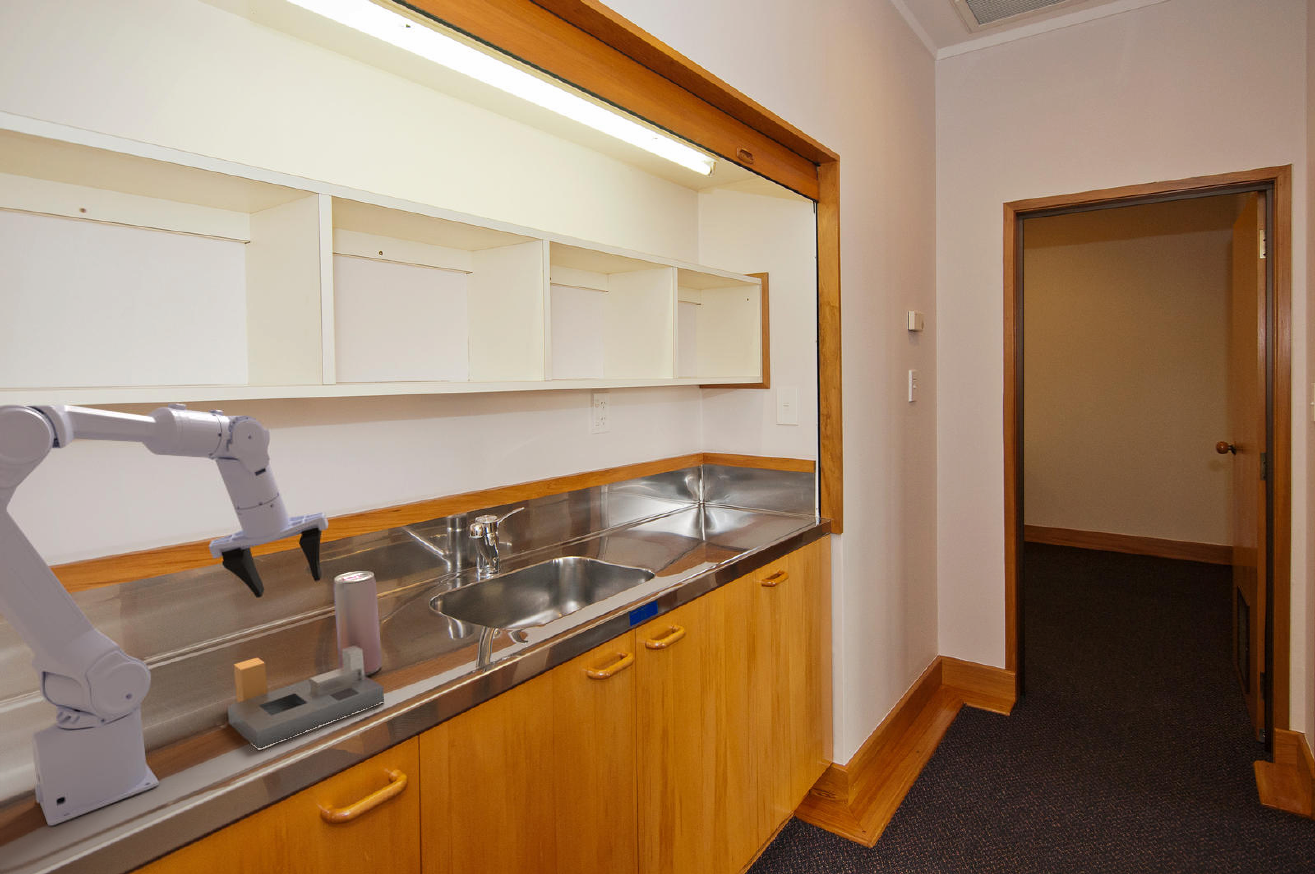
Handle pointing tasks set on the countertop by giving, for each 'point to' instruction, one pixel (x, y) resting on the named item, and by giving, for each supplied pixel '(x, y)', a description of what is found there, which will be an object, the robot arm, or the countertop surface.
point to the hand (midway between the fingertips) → (289, 585)
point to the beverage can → (358, 617)
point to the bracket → (341, 673)
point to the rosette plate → (298, 710)
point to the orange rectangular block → (250, 679)
